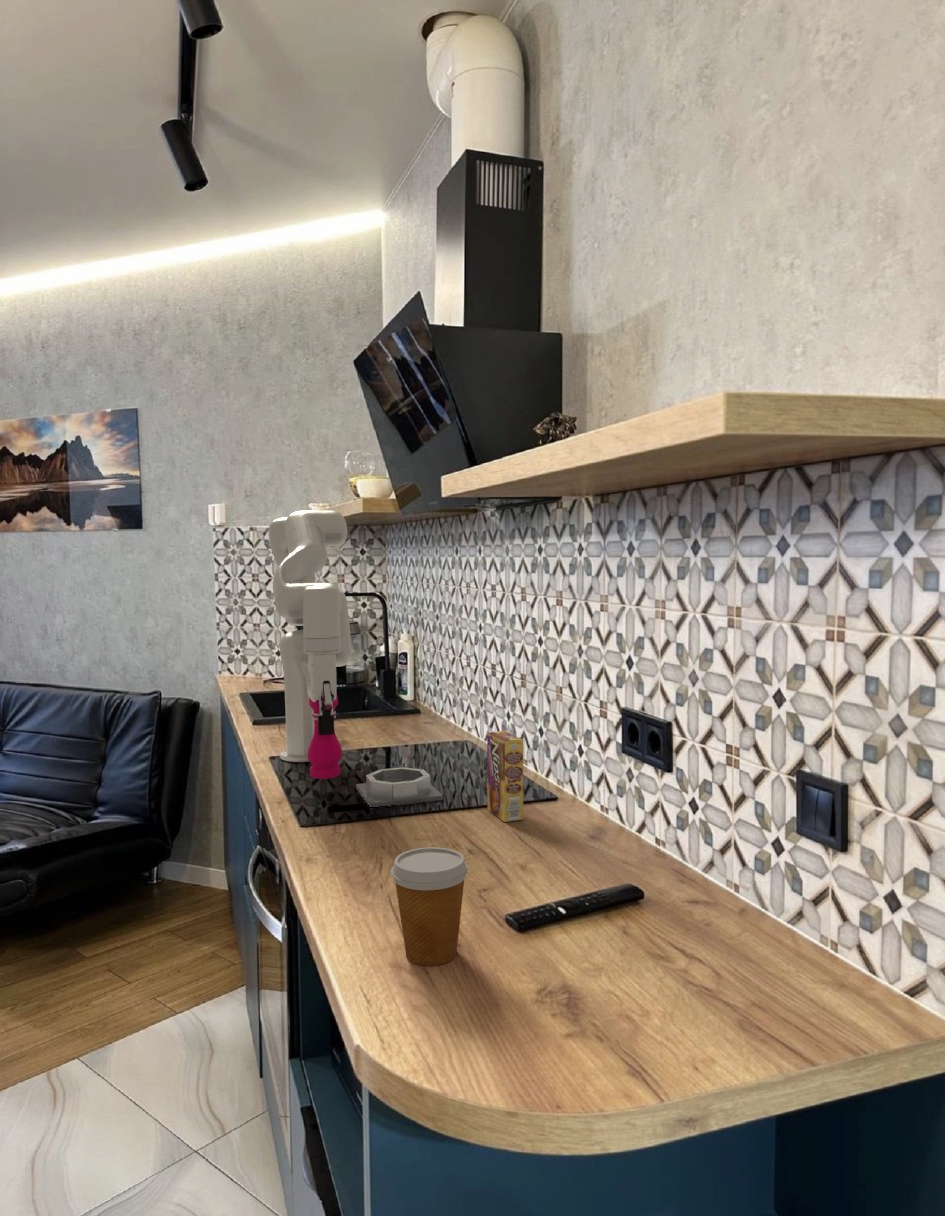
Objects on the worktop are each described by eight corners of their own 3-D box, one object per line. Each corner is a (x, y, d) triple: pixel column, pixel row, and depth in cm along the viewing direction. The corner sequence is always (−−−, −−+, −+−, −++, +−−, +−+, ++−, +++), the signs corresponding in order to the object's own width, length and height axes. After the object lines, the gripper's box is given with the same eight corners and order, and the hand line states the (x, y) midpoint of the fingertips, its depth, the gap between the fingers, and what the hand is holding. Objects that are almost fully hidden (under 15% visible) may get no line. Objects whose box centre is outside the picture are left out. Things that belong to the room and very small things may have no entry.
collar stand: (356, 788, 179) (355, 770, 179) (424, 781, 183) (423, 763, 183) (369, 808, 165) (369, 788, 164) (443, 800, 169) (442, 780, 169)
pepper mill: (346, 770, 179) (344, 678, 178) (337, 780, 172) (335, 684, 170) (313, 769, 180) (311, 677, 178) (303, 779, 173) (300, 683, 171)
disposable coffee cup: (485, 953, 104) (483, 858, 103) (427, 981, 97) (425, 880, 96) (434, 929, 111) (432, 840, 110) (377, 954, 104) (374, 860, 103)
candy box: (525, 820, 156) (524, 739, 155) (504, 823, 154) (502, 741, 153) (507, 807, 164) (506, 730, 163) (486, 809, 162) (485, 732, 161)
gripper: (299, 641, 181) (301, 724, 182) (309, 651, 164) (311, 742, 166) (333, 639, 183) (335, 721, 185) (347, 649, 167) (349, 739, 168)
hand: (324, 730), depth 175 cm, fingers closed on pepper mill, 5 cm apart
